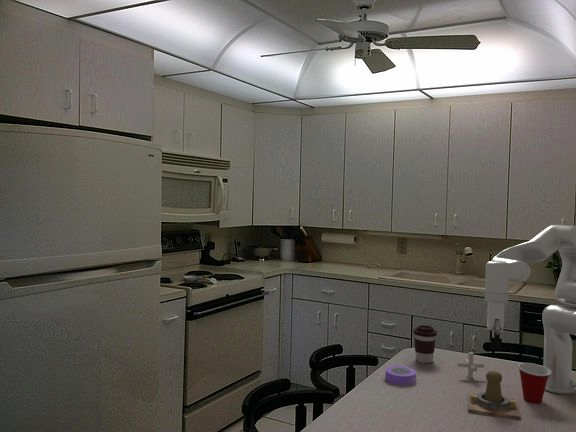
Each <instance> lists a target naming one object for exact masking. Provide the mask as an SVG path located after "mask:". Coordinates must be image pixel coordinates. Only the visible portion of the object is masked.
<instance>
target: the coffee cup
mask: <svg viewBox="0 0 576 432" xmlns="http://www.w3.org/2000/svg"><path fill="white" fill-rule="evenodd" d="M437 334H438V332H437V330H435V328H434V327H433V326H430V325H425V324H424V325H423V324H422V325H418V326H416V327H415V328H413V335H414V339H413V340H414V351H415V352H414V353H415V360H416V361H417V362H419V363H422V364H430V363H432V362H433V361H434V353H435V347H436V337H437Z"/></svg>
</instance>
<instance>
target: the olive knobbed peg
mask: <svg viewBox="0 0 576 432" xmlns="http://www.w3.org/2000/svg"><path fill="white" fill-rule="evenodd" d="M485 378H486V379H485V380H486V381H487V382H486V387H485V398H484V400H487V401H490V402H502V395H503V394H502V388H501V387H502V386H501V383H502V381H503V375H502V374H501V373H500V372H499V371H496V370H495V371H494V370H490V371H487V372H486V374H485Z"/></svg>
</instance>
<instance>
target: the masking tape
mask: <svg viewBox="0 0 576 432" xmlns="http://www.w3.org/2000/svg"><path fill="white" fill-rule="evenodd" d="M385 381H387V382H388V383H390V384H393V385H398V386H411V385H413V384H415V383H417V382H416V381H417V371H416V370H415V369H413V368H411V367H408V366H403V365H391V366H388V367H386V368H385Z"/></svg>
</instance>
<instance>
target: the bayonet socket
mask: <svg viewBox="0 0 576 432" xmlns="http://www.w3.org/2000/svg"><path fill="white" fill-rule="evenodd" d="M485 392H486V391H485ZM485 392H484V391H483V392H479V393H478V392H477V393H475V392H467V408H468V409H467V411H468V413H471V414H478V415H486V416H493V417H499V418H507V419H514V420H521V413H520V410H519V405H518V401H517V398H514V397H507V396H505V395H503V394H501V395H502V402H490V401H487V400H484V398H485Z"/></svg>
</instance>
